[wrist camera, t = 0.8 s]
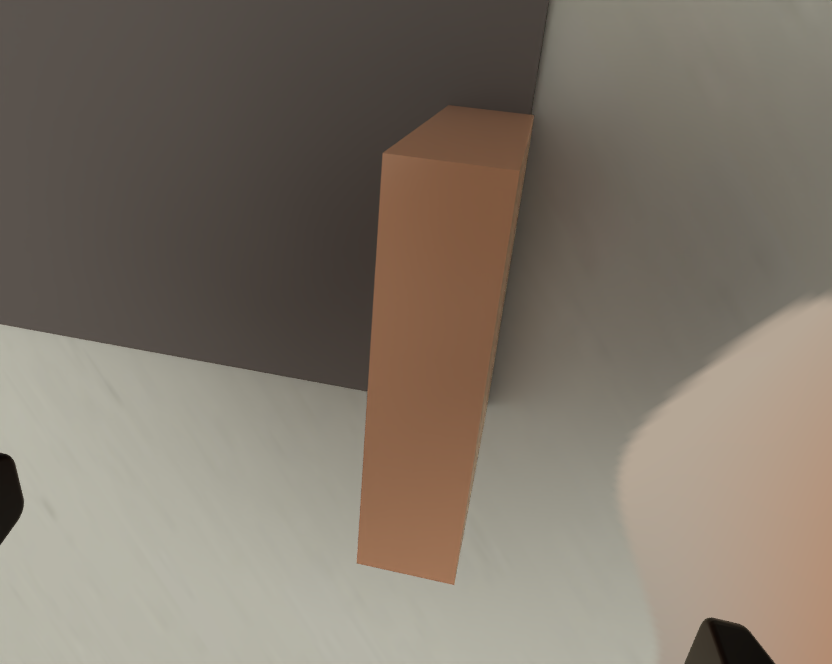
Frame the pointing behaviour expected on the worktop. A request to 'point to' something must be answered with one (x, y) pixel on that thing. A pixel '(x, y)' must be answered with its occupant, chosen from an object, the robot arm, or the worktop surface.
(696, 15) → the worktop surface
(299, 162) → the rubber mat
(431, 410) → the terracotta brick
